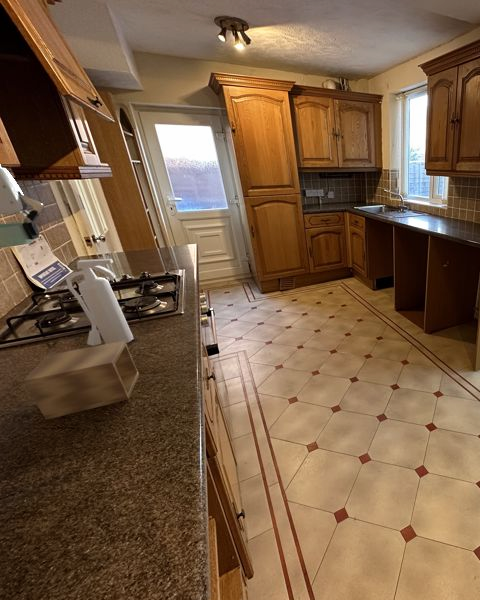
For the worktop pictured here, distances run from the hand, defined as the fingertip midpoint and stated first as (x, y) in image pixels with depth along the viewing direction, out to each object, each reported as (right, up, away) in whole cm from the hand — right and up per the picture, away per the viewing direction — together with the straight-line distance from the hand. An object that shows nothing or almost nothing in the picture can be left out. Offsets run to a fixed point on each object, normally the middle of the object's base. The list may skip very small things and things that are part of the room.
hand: (12, 239), depth 79 cm
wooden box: (+25, -37, -5) cm, 45 cm away
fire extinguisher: (+11, -28, +16) cm, 34 cm away
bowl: (0, -1, 0) cm, 1 cm away
